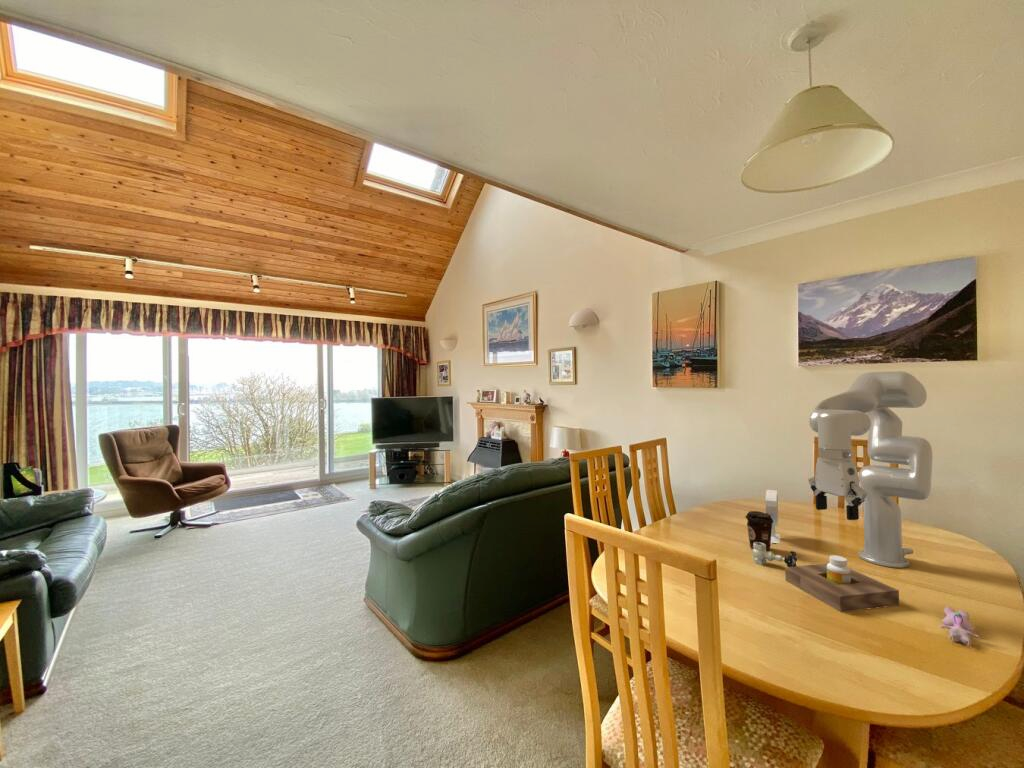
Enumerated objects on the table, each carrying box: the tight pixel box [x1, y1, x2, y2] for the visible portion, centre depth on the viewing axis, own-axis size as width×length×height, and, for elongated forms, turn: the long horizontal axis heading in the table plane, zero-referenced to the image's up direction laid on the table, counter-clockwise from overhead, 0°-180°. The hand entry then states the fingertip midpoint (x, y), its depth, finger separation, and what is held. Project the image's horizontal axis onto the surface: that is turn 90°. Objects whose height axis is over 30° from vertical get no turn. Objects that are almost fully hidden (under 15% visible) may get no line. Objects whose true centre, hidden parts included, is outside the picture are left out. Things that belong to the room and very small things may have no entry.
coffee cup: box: [745, 510, 773, 552], centre depth 150 cm, size 9×8×13 cm
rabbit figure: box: [939, 606, 980, 650], centre depth 98 cm, size 6×6×15 cm
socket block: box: [784, 563, 900, 613], centre depth 118 cm, size 18×18×4 cm
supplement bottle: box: [826, 554, 851, 585], centre depth 119 cm, size 5×5×10 cm
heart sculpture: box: [765, 489, 781, 544], centre depth 161 cm, size 16×5×18 cm, turn 146°
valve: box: [752, 542, 798, 567], centre depth 136 cm, size 7×7×12 cm
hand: (836, 514), depth 119 cm, fingers open, 9 cm apart
